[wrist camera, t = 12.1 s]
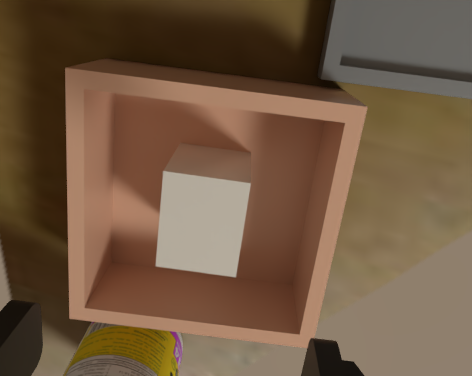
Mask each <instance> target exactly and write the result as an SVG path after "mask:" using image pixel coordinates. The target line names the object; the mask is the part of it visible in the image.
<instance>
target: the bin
mask: <svg viewBox="0 0 472 376" xmlns="http://www.w3.org/2000/svg"><path fill="white" fill-rule="evenodd" d="M65 91H66V149H67V207H68V265H69V319H76V320H84V321H92V322H100V323H108V324H116V325H124V326H132V327H140V328H149V329H157V330H165V331H173V332H181V333H189V334H197V335H205V336H213V337H221V338H229V339H238V340H246V341H254V342H262V343H270V344H278V345H287V346H294V347H302V348H308V344H309V340H310V339H311V338H314V337H315V332H316V328H317V324H318V320H319V315H320V311H321V307H322V302H323V298H324V294H325V289H326V285H327V281H328V276H329V272H330V268H331V263H332V259H333V255H334V250H335V246H336V242H337V237H338V233H339V229H340V224H341V220H342V216H343V211H344V207H345V203H346V198H347V194H348V190H349V185H350V181H351V177H352V172H353V168H354V164H355V160H356V155H357V151H358V147H359V142H360V138H361V134H362V129H363V125H364V121H365V116H366V112H367V108H368V107H367V106H366V105H364V104H363V103H361V102H360V101H359V100H357V99H356V98H354V97H353V96H352V95H350V94H349V93H347V92H346V91H345V90H343V89H338V88H330V87H323V86H315V85H307V84H300V83H292V82H284V81H277V80H269V79H261V78H253V77H246V76H238V75H230V74H223V73H215V72H207V71H200V70H192V69H184V68H177V67H169V66H161V65H154V64H146V63H138V62H131V61H123V60H115V59H108V58H105V59H101V60H96V61H92V62H88V63H83V64H79V65H75V66H70V67H66V68H65ZM180 143H186V144H193V145H200V146H207V147H214V148H221V149H228V150H235V151H242V152H249V153H251V186H250V192H249V198H248V205H247V211H246V217H245V223H244V230H243V236H242V242H241V248H240V255H239V261H238V267H237V274H236V277H230V276H222V275H215V274H208V273H201V272H193V271H186V270H179V269H172V268H164V267H157V266H156V254H157V242H158V230H159V217H160V205H161V193H162V180H163V171H164V169H165V167H166V166H167V164H168V162H169V161H170V159H171V157H172V156H173V154H174V152H175V151H176V149H177V148H178V146H179V144H180Z"/></svg>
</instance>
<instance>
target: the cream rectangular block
mask: <svg viewBox="0 0 472 376" xmlns="http://www.w3.org/2000/svg"><path fill="white" fill-rule="evenodd" d="M250 186H251V153H249V152H242V151H235V150H228V149H221V148H214V147H207V146H200V145H193V144H186V143H180V144H179V146H178V148H177V149H176V151H175V152H174V154H173V156H172V157H171V159H170V161H169V162H168V164H167V166H166V167H165V169H164V171H163V180H162V193H161V205H160V217H159V230H158V242H157V254H156V266H157V267H164V268H172V269H179V270H186V271H193V272H201V273H208V274H215V275H222V276H230V277H236V274H237V267H238V261H239V255H240V248H241V242H242V236H243V230H244V223H245V217H246V211H247V205H248V198H249V192H250Z"/></svg>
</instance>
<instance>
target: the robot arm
mask: <svg viewBox="0 0 472 376" xmlns="http://www.w3.org/2000/svg"><path fill="white" fill-rule="evenodd" d="M42 347H43V340H42V322H41V307H40V305H39V303H33V302H25V301H17V300H11V301H9V302H8V303H7V305H6V306H5V307H4V308H3V309H2V310H1V311H0V376H31V375H32V373H33V372H34V370H35V368H36V367H37V365H38V362H39V360H40V357H41V353H42ZM301 376H364V375H363V373H362V372H361V371H360V369H359V368H358V367H357V366H356V364H355V363H354V362H351V361H344V360H342V359H341V355H340V351H339V347H338V344H337V342H336V341H332V340H324V339H316V338H311V339H310V340H309V344H308V348H307V352H306V357H305V361H304V365H303V370H302V374H301Z"/></svg>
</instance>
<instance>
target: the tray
mask: <svg viewBox="0 0 472 376" xmlns="http://www.w3.org/2000/svg"><path fill="white" fill-rule="evenodd" d="M317 77H319V78H320V79H323V80H330V81H338V82H346V83H353V84H361V85H369V86H376V87H384V88H392V89H399V90H407V91H415V92H422V93H430V94H438V95H445V96H453V97H461V98H468V99H472V0H331V4H330V9H329V15H328V20H327V25H326V31H325V36H324V42H323V47H322V53H321V58H320V63H319V69H318V74H317Z"/></svg>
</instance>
